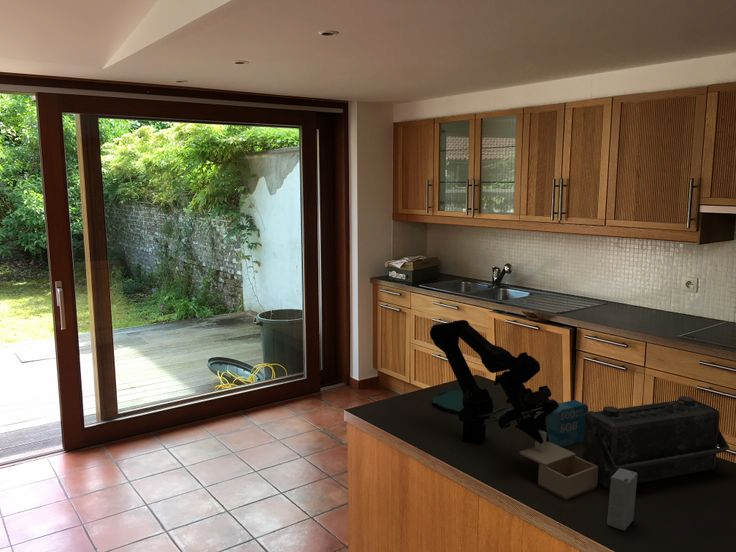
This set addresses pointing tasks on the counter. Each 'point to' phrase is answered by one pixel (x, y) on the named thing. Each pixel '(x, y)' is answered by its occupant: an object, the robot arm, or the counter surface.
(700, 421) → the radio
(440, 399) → the cutlery set
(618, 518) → the skincare box
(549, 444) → the lid
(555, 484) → the carton
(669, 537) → the counter surface
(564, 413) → the data package
